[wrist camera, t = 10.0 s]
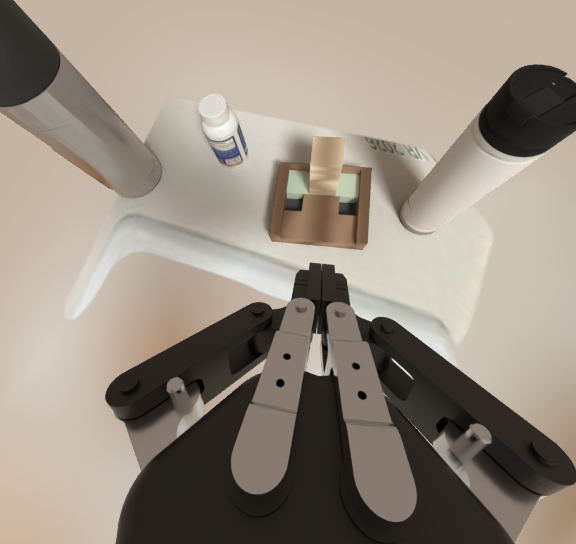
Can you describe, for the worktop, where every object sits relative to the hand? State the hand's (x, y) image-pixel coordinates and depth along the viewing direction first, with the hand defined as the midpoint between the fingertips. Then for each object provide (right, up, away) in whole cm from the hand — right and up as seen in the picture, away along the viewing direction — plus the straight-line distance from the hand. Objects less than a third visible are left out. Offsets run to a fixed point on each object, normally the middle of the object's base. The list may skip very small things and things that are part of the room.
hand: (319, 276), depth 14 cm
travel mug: (+18, +9, +21) cm, 30 cm away
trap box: (+3, +10, +23) cm, 25 cm away
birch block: (+4, +14, +21) cm, 26 cm away
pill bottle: (-12, +21, +26) cm, 35 cm away
